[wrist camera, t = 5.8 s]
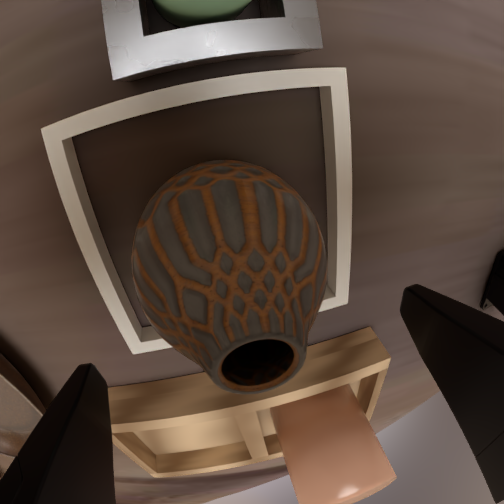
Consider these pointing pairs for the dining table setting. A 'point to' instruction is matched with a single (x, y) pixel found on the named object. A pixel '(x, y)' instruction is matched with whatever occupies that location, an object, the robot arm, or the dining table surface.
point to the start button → (199, 11)
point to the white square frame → (62, 131)
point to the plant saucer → (16, 409)
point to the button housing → (205, 38)
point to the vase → (231, 272)
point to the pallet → (234, 410)
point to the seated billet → (331, 448)
